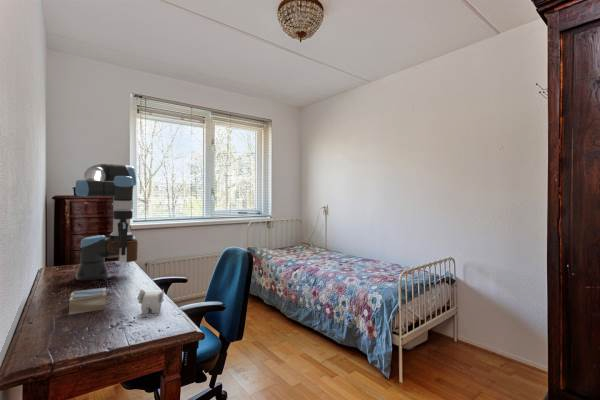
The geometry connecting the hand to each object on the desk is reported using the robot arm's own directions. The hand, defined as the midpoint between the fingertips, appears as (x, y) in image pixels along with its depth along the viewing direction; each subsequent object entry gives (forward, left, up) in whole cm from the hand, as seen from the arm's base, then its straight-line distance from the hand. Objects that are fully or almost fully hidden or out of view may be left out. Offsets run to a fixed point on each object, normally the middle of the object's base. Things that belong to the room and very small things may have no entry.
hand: (122, 260), depth 137 cm
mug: (0, 0, -1) cm, 1 cm away
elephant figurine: (+23, +10, -17) cm, 30 cm away
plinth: (+5, -12, -17) cm, 22 cm away
